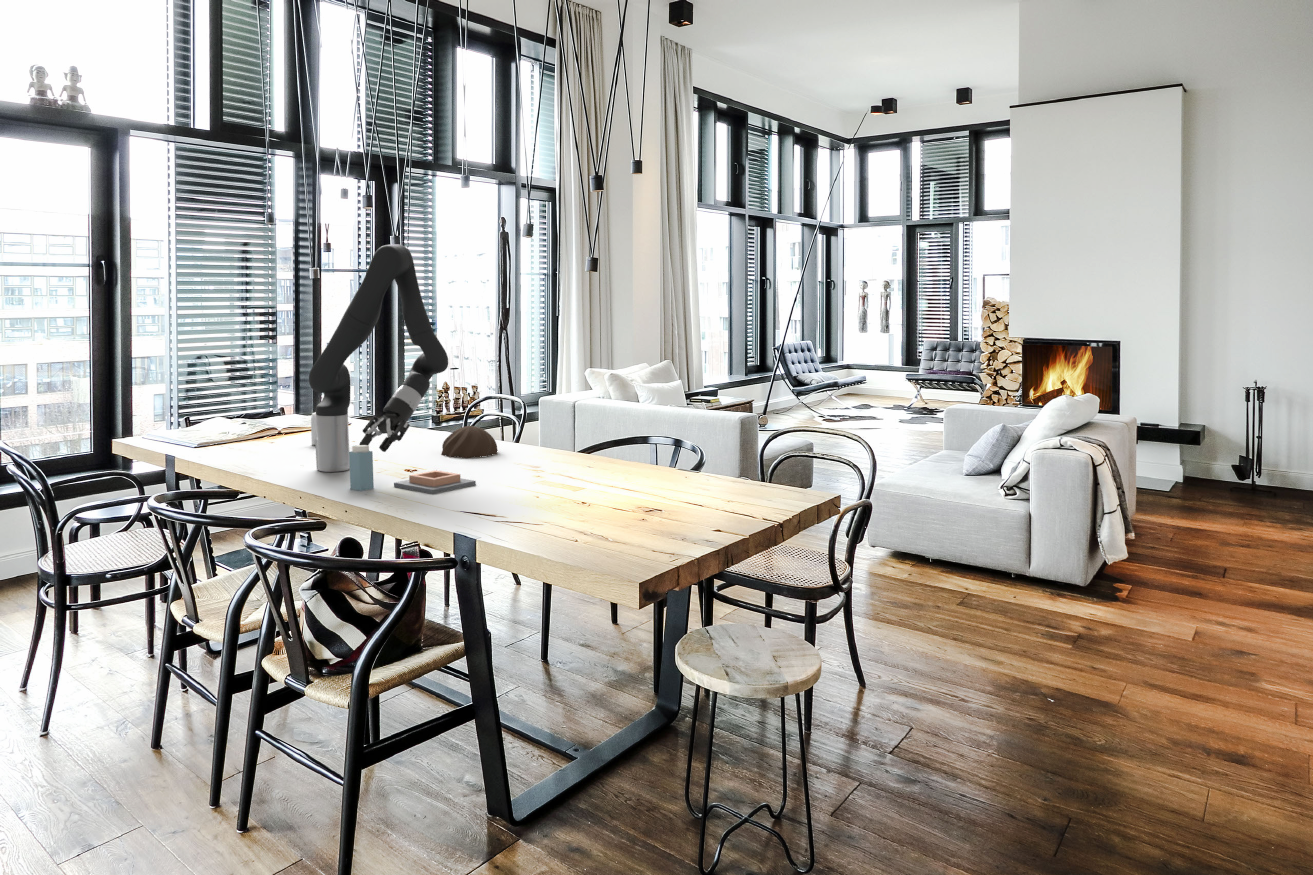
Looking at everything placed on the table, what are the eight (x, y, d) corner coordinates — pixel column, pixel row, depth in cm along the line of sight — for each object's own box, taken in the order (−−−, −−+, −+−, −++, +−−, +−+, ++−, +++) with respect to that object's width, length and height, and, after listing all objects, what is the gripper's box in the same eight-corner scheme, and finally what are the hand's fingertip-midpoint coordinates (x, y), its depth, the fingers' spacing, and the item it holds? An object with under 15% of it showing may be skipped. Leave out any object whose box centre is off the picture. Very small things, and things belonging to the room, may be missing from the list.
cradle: (394, 486, 253) (393, 475, 252) (437, 478, 266) (436, 467, 266) (433, 494, 244) (432, 482, 244) (475, 484, 257) (475, 473, 257)
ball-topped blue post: (350, 488, 249) (348, 446, 248) (363, 486, 253) (362, 444, 251) (360, 490, 247) (359, 448, 245) (373, 488, 251) (372, 446, 249)
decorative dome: (510, 452, 315) (509, 424, 313) (470, 460, 298) (469, 431, 297) (470, 447, 325) (469, 420, 323) (429, 454, 308) (428, 426, 307)
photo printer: (339, 442, 331) (338, 409, 329) (342, 443, 328) (341, 410, 326) (310, 444, 326) (309, 410, 324) (313, 446, 322) (311, 411, 320)
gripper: (378, 394, 260) (347, 438, 253) (412, 397, 253) (380, 442, 245) (393, 411, 266) (363, 454, 258) (427, 414, 258) (396, 459, 250)
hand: (371, 448), depth 251 cm, fingers open, 8 cm apart
